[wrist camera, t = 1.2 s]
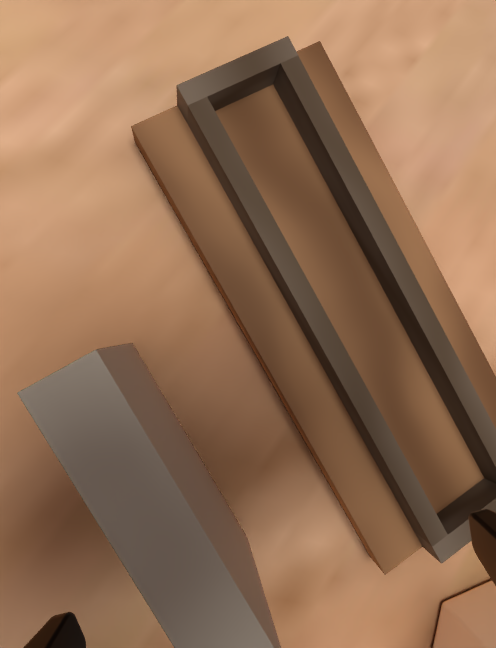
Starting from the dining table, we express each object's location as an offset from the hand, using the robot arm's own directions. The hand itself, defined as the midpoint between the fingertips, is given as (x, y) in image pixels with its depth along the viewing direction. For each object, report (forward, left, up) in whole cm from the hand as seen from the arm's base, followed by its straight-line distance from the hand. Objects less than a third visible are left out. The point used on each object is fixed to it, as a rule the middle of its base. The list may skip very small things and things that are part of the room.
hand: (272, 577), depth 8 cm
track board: (+9, +3, -12) cm, 15 cm away
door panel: (-3, +1, -12) cm, 12 cm away
